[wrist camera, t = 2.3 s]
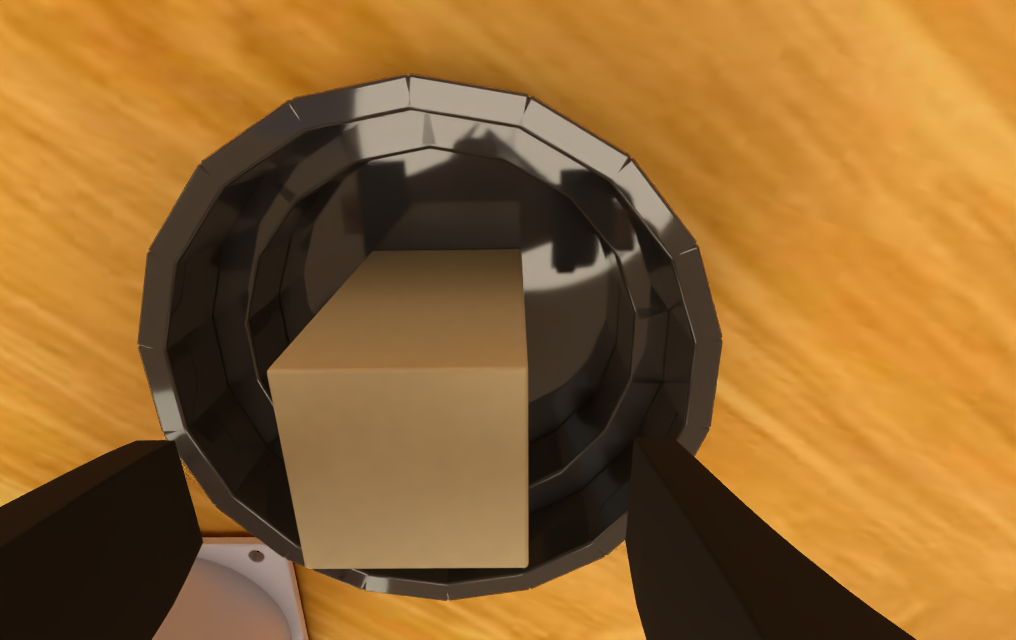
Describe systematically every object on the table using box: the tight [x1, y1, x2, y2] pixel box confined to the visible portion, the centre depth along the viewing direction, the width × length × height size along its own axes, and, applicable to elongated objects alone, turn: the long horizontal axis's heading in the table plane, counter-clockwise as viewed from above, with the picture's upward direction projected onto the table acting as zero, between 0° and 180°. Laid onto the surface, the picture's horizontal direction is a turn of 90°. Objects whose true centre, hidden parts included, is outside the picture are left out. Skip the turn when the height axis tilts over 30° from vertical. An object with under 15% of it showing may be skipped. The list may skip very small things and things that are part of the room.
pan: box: [138, 74, 723, 601], centre depth 14 cm, size 12×12×4 cm
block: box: [267, 249, 529, 569], centre depth 12 cm, size 4×4×7 cm
